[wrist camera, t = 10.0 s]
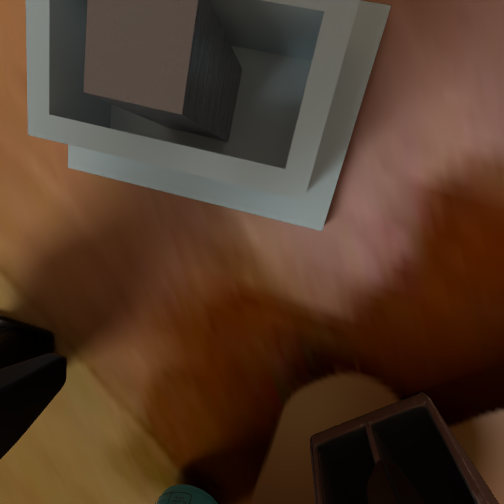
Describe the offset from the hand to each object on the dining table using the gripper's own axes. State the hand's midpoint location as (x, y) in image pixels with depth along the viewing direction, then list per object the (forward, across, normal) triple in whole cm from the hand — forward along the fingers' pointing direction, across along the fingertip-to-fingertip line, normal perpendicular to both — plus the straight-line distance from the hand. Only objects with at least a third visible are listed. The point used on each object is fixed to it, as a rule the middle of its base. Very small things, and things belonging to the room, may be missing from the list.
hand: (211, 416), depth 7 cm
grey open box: (+12, +6, -10) cm, 17 cm away
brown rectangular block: (+12, +6, -10) cm, 16 cm away
